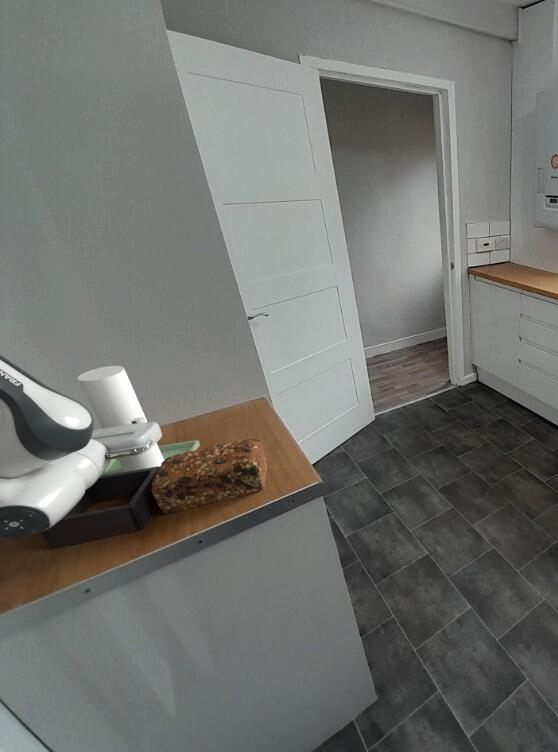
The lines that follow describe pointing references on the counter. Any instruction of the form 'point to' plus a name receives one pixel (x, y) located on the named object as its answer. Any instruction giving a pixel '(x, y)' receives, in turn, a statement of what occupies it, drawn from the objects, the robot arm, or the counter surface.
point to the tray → (165, 451)
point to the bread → (210, 475)
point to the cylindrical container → (117, 409)
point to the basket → (107, 510)
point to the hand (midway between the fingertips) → (112, 424)
